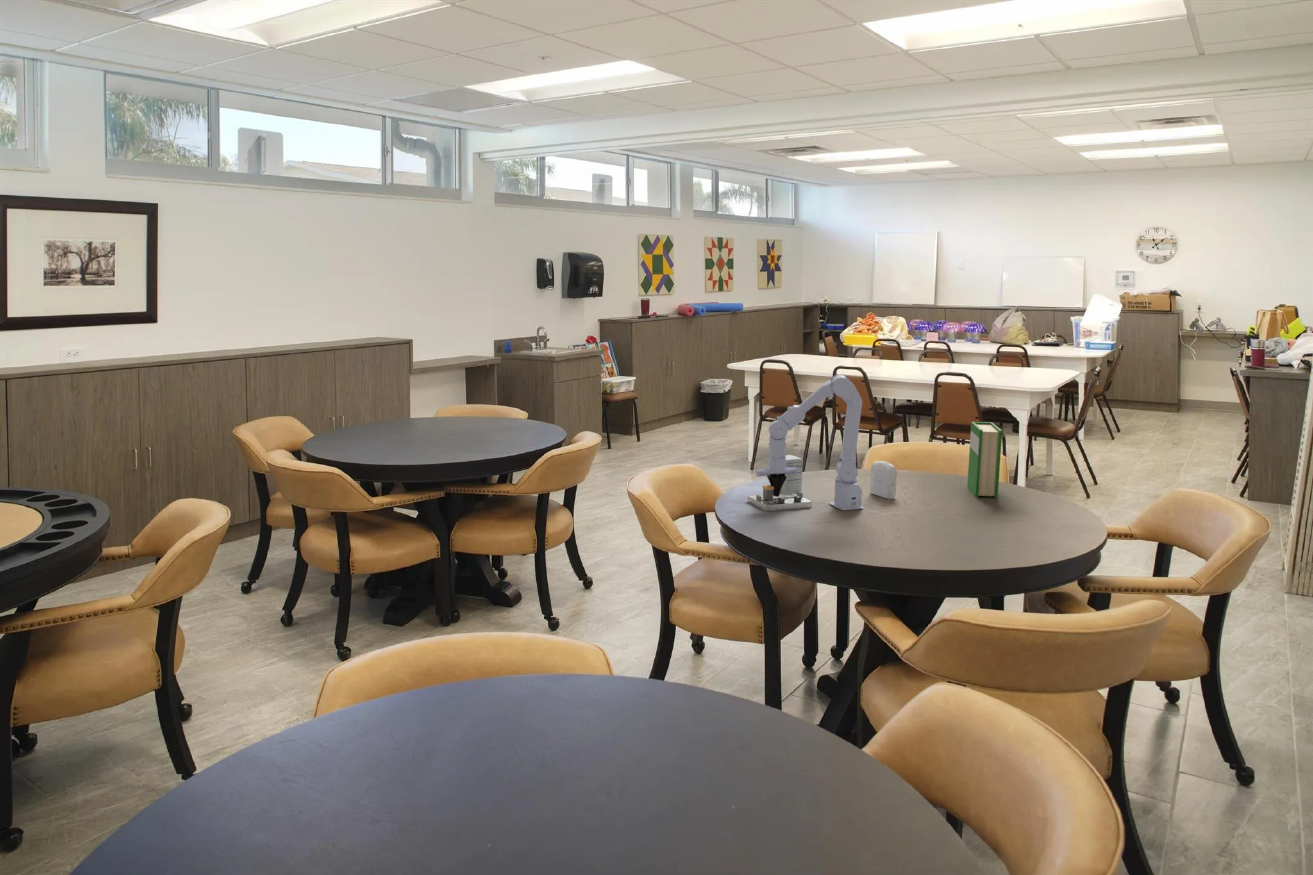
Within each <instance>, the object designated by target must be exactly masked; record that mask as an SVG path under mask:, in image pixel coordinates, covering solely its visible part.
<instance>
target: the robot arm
mask: <svg viewBox="0 0 1313 875" xmlns="http://www.w3.org/2000/svg"><path fill="white" fill-rule="evenodd" d="M835 395H836V396H838V397H839V398H841V399H842V400H843V401H844V402H845V404H846V411H845V418H844V428H843V436H842V444H841V451H840V453H839V459H838V461H837V462H836V463H835V471H836V473H837V476H835V480H834V500H833V502H831V501H830V502H829V503H828V505H831V506H832V507H835V508H837V509H838V510H841V511H850V510H851V511H852V510H862V509H864V506H862V500H863V499H862V497H863V496H862V495H863V494H862V493H863V489H862V488H861V486H860V485H859V484H858V478H857V476H858V475H859V473H858V467H857V446H858V441H859V440H858V438H859V430H860V423H861V415H862V409H863V408H862V407H863V399H862V396H861V394H860V393H859V391H858V389H857V387H856V385H855V384H854V383H853V382H852V381H851V380H850V378H848V377H847V376H845V375H844V374H838V373H837V374H834V375H833V376H832V377H831V379H828V380H826V381H825V382H823V384H821V385H820V386H819V387H818V388H817V389H816V390H814V391H813V392H812V393H811V394H810V395H809V396H808V397H807V398H806V399H805V400H804V401H802V402H801V403H800V404H798V405H797V404H793V405H792V406H791V405H789V406H788V407H787V410H786V411H784V413H783V414H781V415H778V416H776V420H773V421H772V422H771V423H770V424H769V426H768V432H769V437H768V438H769V439H768V440H769V442H768V462H767V463H768V466H767V467H768V468H762V469H756V470H755V476H756V477H758V478H760V477H766V476H767V477H766V478H767V479H768V482H769V485H771V486H773V487H774V490H773V496H775V497H779V495H780V493H781V492H780V491H781V488H782V485H783V483H784V482H785V480H786V476H785V474H797V471H798V469H797V468H795V467H794V468H785V466H786V455H787V443H786V437H787V435H788V433H789V431H792V430H793V429H794V428H795V427H796V426H797V425H799V424H800V423H801V422H803V420H804V419H806V413H807V412H808V411H810V410H811V409H812V408H813V407H815V406H816V405H817V404H819V403H820V402H821V401H823V400H824V399H826V398H834V397H835Z"/></svg>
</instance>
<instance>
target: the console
mask: <svg viewBox="0 0 1313 875" xmlns="http://www.w3.org/2000/svg"><path fill="white" fill-rule="evenodd" d="M803 495H804V494H803V492H802V491H801V492H797V493H793V492H790V493H781V492H780V495H779V497H775V496H773V500H765V499H764V498H763V494H754V495H752V494H751V495H747V502H748V503H750V504H751V505H753V506H755V507H757V508H759V509H760V510H762V511H764V512H773V511H774V512H775V511H785V510H799V509H808V508H809V509H810V508H812V507H813V506H812V505H813V504H812V501H811V500H809V499H808V498H806V497H803Z"/></svg>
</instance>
